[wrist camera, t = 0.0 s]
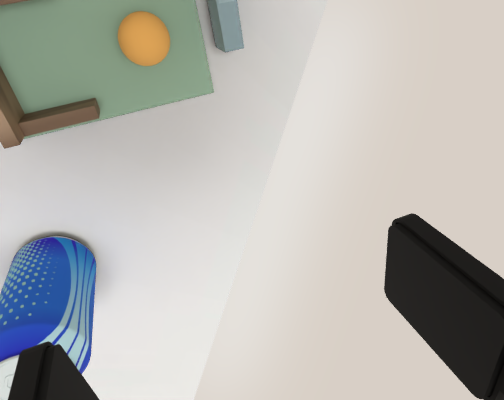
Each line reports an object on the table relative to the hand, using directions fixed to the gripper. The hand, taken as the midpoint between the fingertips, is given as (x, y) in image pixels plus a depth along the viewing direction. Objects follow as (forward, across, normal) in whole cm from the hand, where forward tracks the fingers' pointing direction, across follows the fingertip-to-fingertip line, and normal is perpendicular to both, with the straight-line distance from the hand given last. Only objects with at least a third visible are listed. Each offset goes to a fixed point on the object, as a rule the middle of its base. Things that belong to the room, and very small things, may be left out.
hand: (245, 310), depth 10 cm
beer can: (+31, +16, +17) cm, 39 cm away
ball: (+31, 0, -4) cm, 31 cm away
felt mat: (+31, +4, -4) cm, 32 cm away
